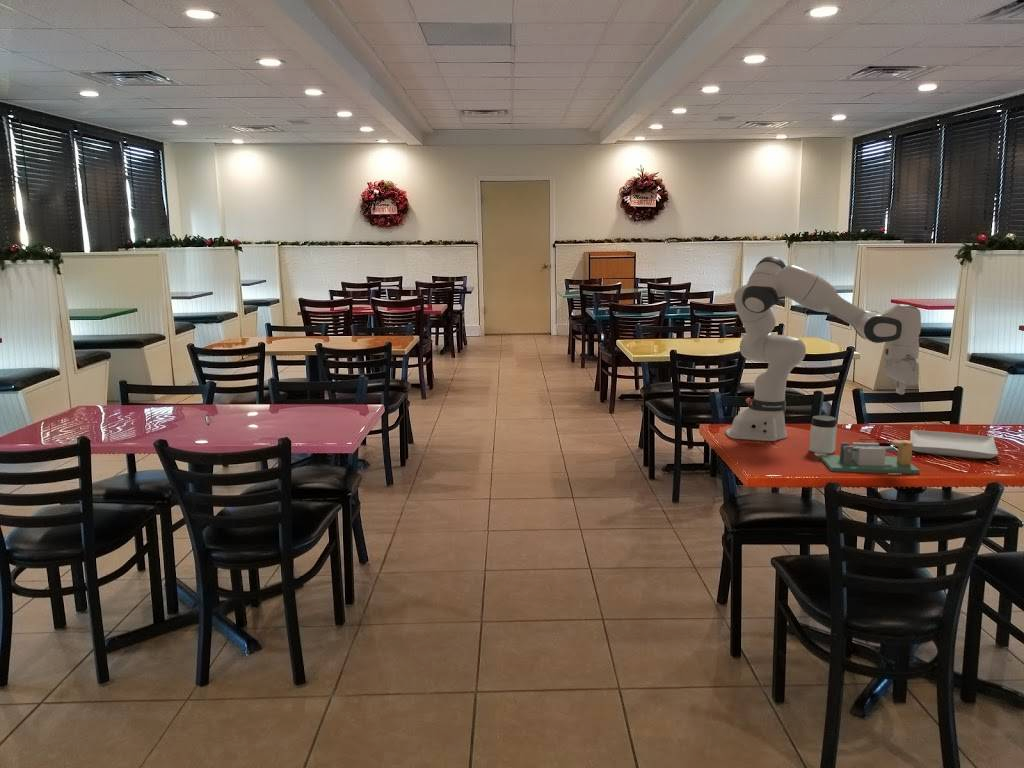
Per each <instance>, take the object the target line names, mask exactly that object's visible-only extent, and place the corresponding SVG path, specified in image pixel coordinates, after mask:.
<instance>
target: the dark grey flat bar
mask: <svg viewBox="0 0 1024 768" xmlns="http://www.w3.org/2000/svg"><path fill="white" fill-rule="evenodd" d="M852 446H853V445H852ZM859 447H863V448H885V449H886V453H887V452H888V453H889V452H890V453H891V452H893V453H896V451H897V448H896V447H895V446H887V445H886V446H884V445H883V446H881V445H879V446H853V451H858V450H859ZM842 449H843V450H844V449H845V446H842Z"/></svg>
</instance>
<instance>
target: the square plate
mask: <svg viewBox="0 0 1024 768" xmlns="http://www.w3.org/2000/svg"><path fill="white" fill-rule="evenodd" d="M909 434H910V438H909V441H910V442H912V443H913V445H912V452H913V451H914V452H917V453H923V454H928V455H929V454H930V455H937V456H949V457H957V458H958V457H959V458H968V459H979V460H980V459H992V458H995V457H997V456H998V455H999V451H998V449H997V446H996V441H995V437H994V436H991V435H990V436H988V435H987V436H986V435H979V434H969V433H962V432H961V433H960V432H949V431H937V430H936V431H933V430H919V429H912V430H910V433H909Z"/></svg>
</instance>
